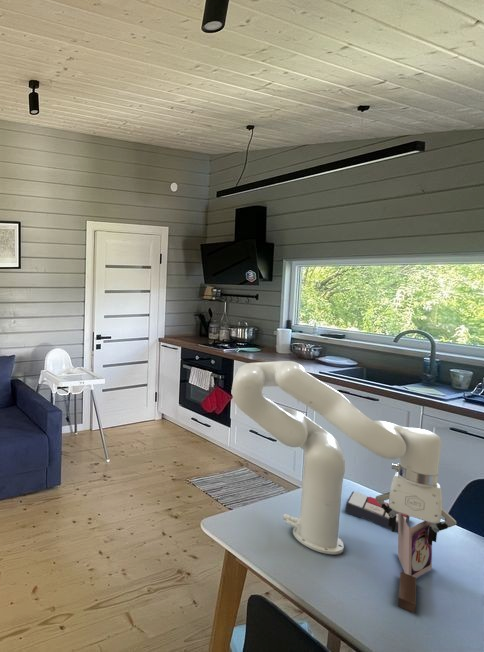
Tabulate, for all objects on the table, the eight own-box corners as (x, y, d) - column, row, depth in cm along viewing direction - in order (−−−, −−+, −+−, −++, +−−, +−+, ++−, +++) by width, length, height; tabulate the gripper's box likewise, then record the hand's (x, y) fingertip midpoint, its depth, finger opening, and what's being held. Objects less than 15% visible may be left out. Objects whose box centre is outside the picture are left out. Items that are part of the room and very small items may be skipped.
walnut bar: (397, 606, 99) (398, 597, 99) (399, 579, 108) (400, 571, 107) (414, 613, 97) (415, 604, 97) (415, 585, 106) (416, 577, 105)
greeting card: (413, 584, 106) (413, 530, 105) (379, 566, 113) (379, 515, 112) (435, 570, 110) (436, 518, 109) (402, 554, 117) (402, 505, 116)
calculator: (406, 524, 125) (346, 500, 136) (404, 536, 126) (344, 512, 137) (410, 510, 132) (353, 488, 143) (408, 522, 133) (351, 499, 144)
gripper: (374, 468, 112) (368, 527, 114) (465, 493, 100) (458, 559, 102) (376, 459, 118) (371, 515, 119) (463, 481, 105) (456, 544, 107)
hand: (411, 535), depth 111 cm, fingers open, 6 cm apart
